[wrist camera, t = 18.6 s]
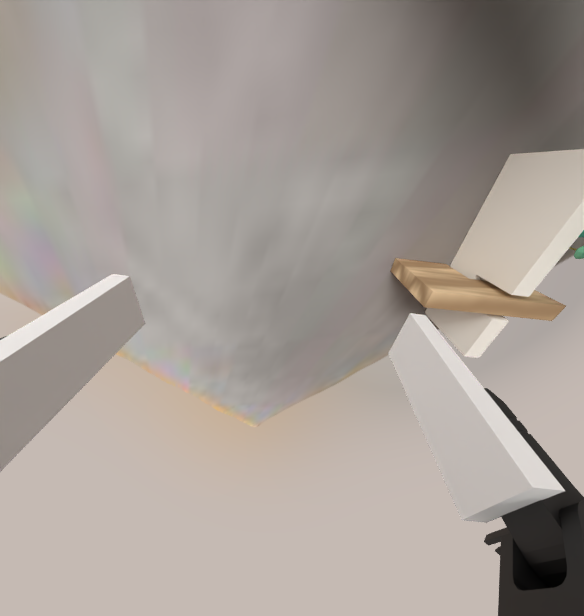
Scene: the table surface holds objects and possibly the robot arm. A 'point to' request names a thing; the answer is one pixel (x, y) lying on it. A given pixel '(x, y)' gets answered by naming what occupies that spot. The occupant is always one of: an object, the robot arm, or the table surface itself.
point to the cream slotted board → (517, 238)
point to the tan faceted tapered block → (468, 292)
